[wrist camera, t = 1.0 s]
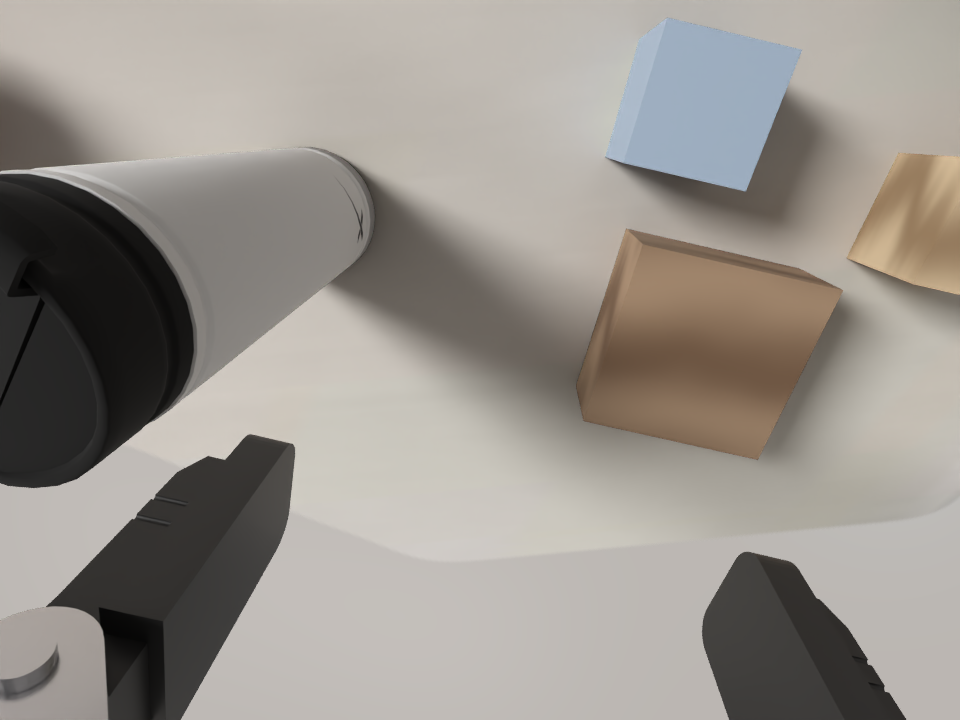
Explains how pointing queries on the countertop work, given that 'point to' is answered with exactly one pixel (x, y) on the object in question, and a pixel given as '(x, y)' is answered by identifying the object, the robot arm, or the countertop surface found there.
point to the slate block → (700, 102)
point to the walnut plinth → (700, 344)
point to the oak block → (915, 223)
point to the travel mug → (152, 287)
